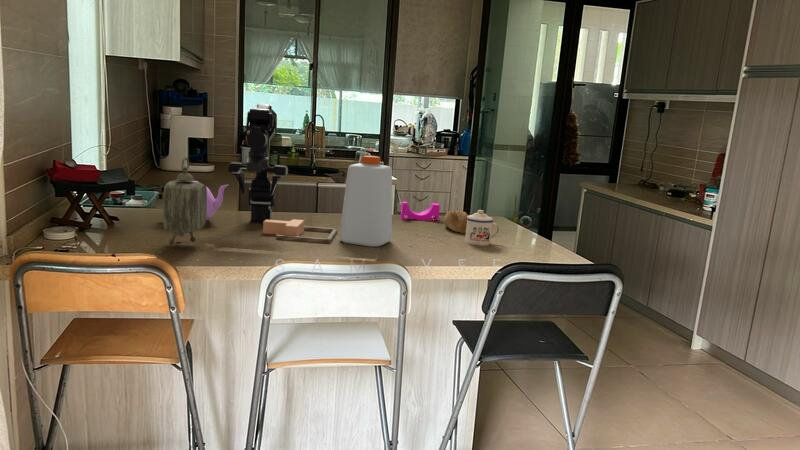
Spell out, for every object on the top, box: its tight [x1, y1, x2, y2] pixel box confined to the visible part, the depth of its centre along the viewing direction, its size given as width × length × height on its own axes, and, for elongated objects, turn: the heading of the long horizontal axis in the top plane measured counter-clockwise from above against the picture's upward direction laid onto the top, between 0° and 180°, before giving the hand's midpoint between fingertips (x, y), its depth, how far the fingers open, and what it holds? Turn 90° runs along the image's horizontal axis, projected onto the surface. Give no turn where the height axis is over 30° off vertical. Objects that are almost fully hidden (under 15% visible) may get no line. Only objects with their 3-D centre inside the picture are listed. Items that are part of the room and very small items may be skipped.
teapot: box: [191, 180, 229, 221], centre depth 210 cm, size 22×16×14 cm
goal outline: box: [275, 225, 338, 244], centre depth 199 cm, size 17×18×1 cm
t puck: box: [262, 218, 305, 237], centre depth 199 cm, size 12×12×4 cm
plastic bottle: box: [339, 155, 393, 248], centre depth 195 cm, size 15×15×28 cm
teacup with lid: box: [464, 209, 501, 247], centre depth 207 cm, size 12×9×12 cm
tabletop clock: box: [162, 157, 207, 246], centre depth 176 cm, size 14×9×25 cm, turn 5°
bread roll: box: [443, 209, 469, 234], centre depth 227 cm, size 10×15×8 cm, turn 14°
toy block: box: [400, 201, 441, 221], centre depth 243 cm, size 15×6×8 cm, turn 97°
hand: (257, 194), depth 198 cm, fingers open, 9 cm apart
